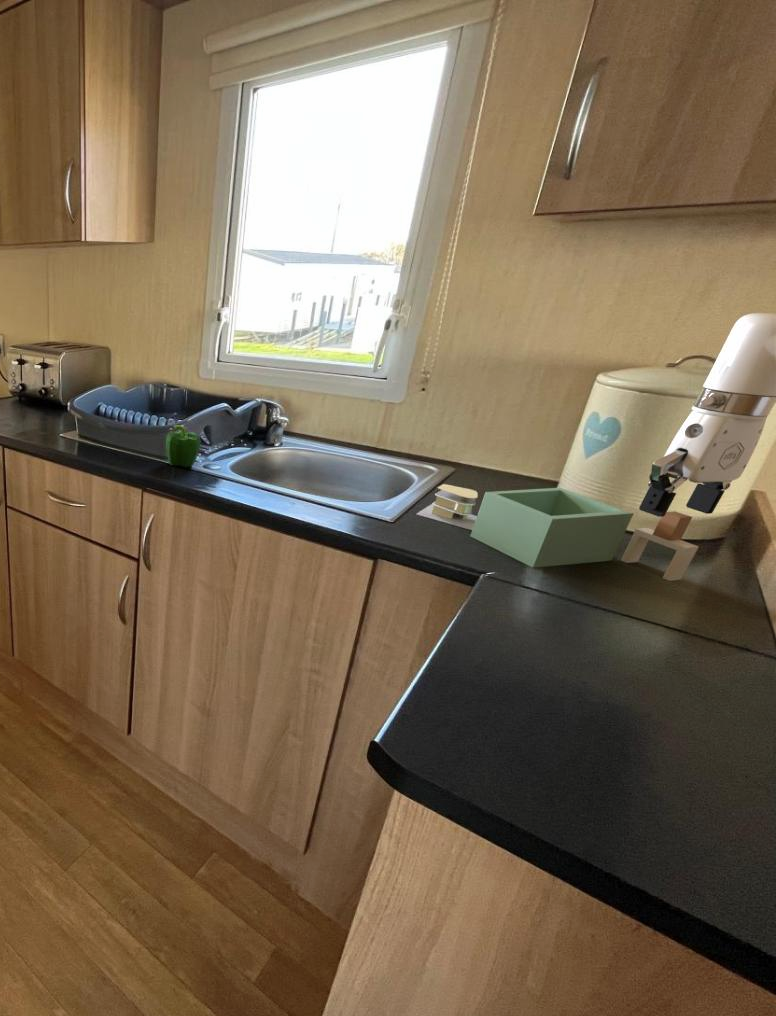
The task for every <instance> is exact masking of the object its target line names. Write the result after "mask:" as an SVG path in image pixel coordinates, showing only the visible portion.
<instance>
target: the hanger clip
mask: <svg viewBox="0 0 776 1016" xmlns="http://www.w3.org/2000/svg"><path fill="white" fill-rule="evenodd" d="M692 519H693V516H691V515H687V514H684V513H681V512H678V511H675V510H674V511H667V512H666V514H665V516H663V517H660V519H659V521H658V523H657V524H656V526H655V528H654V529H652V528H648V527H642V528H641V527H640V528H635V529H634V531H633V534H632V536H631V539H630V540H629V542H628V545H627V546H626V549H625V550H624V553H623V554H622V557H621V559H620V561H621V562H624V563H626V564H629V563H639V560H640V559H641V556H642V554H643V552H644V550H645V548H646V547H647V545H648V542H649V541H651V542H654V543H656V544H658V545H661V546H664V547H667V548H669V549H672V550H674V551H676V552H675V553H674V555H673V557H672V559H671V561H670V563H669V565H668V567H667V569H666V570H665V572H664V574H663V576H662V579H663V580H666V581H668V582H673V581H681V580H682V578H683V576H684V575H685V573H686V572H687V569H688V567H689V566H690V565H691V563H692V560H693V559H694V556H695V555H696V552H697V551H698V549H699V545H696V544H693V543H690V542H687V541H685V540H683V539H682V538H683V536H684V534H685V532H686V531H687V528H688V527H689V525H690V523H691V521H692Z"/></svg>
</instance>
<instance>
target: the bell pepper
mask: <svg viewBox="0 0 776 1016" xmlns="http://www.w3.org/2000/svg"><path fill="white" fill-rule="evenodd" d="M173 428H174V430H175V432H168V434H167V436H166V441H165V450H166V458H167V461H168V463H169V465H171V466H174V467H183V468H190V467H192V466H194V464H195V463H196V460H197V458H198V455H199V452H200V448H201V438H200V435H197V434H196V433H195V432H194V431H190V432H186V429H185V427H183V426H182V425H173ZM176 430H179V431H176Z"/></svg>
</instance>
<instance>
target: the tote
mask: <svg viewBox="0 0 776 1016" xmlns="http://www.w3.org/2000/svg"><path fill="white" fill-rule="evenodd" d="M476 516H477V518H476V521H475V524H474V527H473V530H471V533H470V537H471V538H473V539H475V540H477V541H478V542H481V543H483V544H485V545H487V546H489V547H490V548H492V549H494V550H496V551H499V552H500V553H502V554H504V555H506V556H509V557H510V558H512V559H514V560H516V561H519V562H521V564H524V565H527V566H528V567H530V568H532V569H535V568H544V567H554V566H555V567H557V566H566V565H567V566H568V565H577V564H588V563H590V564H591V563H599V562H601V563H602V562H611V561H613V558H614V557H615V554H616V552H617V550H618V548H619V546H620V543H621V541H622V539H623V537H624V535H625V533H626V532H627V529H628V527H629V526H630V522H631V521H632V519H633V516H634V512H632V511H628V510H626V509H623V508H620V507H617V506H614V505H611V504H608V503H605V502H602V501H600V500H596V499H594V498H591V497H588V496H585V495H582V494H579V493H576V492H574V491H571V490H568V489H566V488H562V487H550V488H549V487H548V488H533V489H516V490H515V489H513V490H499V491H498V490H497V491H496V490H495V491H485V493H484V495H483V499H482V502H481V504H480V507H479V510H478V513H477V515H476Z"/></svg>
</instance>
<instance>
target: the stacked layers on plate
mask: <svg viewBox="0 0 776 1016" xmlns="http://www.w3.org/2000/svg"><path fill="white" fill-rule="evenodd" d="M437 489H439V491H438V492H435V493H434V495H435V496H436V498H435V500H434V501H433V502H432V503H431V504H429V505H427V506H426V507H424V508H423V509H422V510H420V511H418V512H417V513H416V516H420V517H424V518H428V519H430V520H431V519H432V520H435V521H438V522H440V523H441V522H442V523H444V524H449V525H453V526H455V527H459V528H463V529H467V530H470V531H472V530H473V527H474V524H475V521H476V518H477V515H474V514H473V506H476V499H477V498H478V497H479V495H478V492H477V490H474V489H472V488H471V489H470V488H466V487H461V486H455V485H451V484H446V483H443V484H441V485H439V486H437Z"/></svg>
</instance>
